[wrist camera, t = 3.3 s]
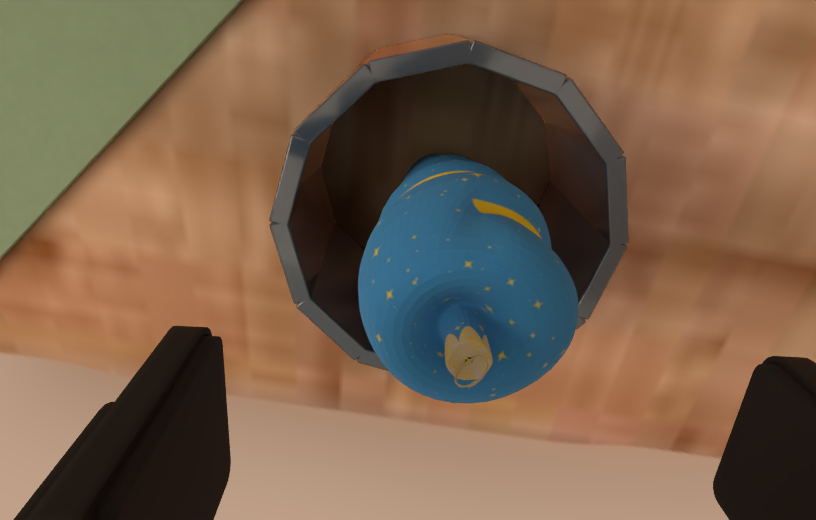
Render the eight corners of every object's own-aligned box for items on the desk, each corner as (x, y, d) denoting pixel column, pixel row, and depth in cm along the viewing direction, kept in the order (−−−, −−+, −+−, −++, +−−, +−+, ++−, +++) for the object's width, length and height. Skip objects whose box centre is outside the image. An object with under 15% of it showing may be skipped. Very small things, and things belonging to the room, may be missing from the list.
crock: (454, -26, 21) (481, -48, 14) (609, 184, 24) (694, 248, 17) (258, 161, 24) (199, 219, 17) (422, 326, 27) (430, 431, 20)
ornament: (518, 184, 24) (675, 402, 10) (423, 250, 25) (451, 524, 12) (450, 85, 22) (528, 189, 9) (352, 161, 24) (284, 358, 10)
